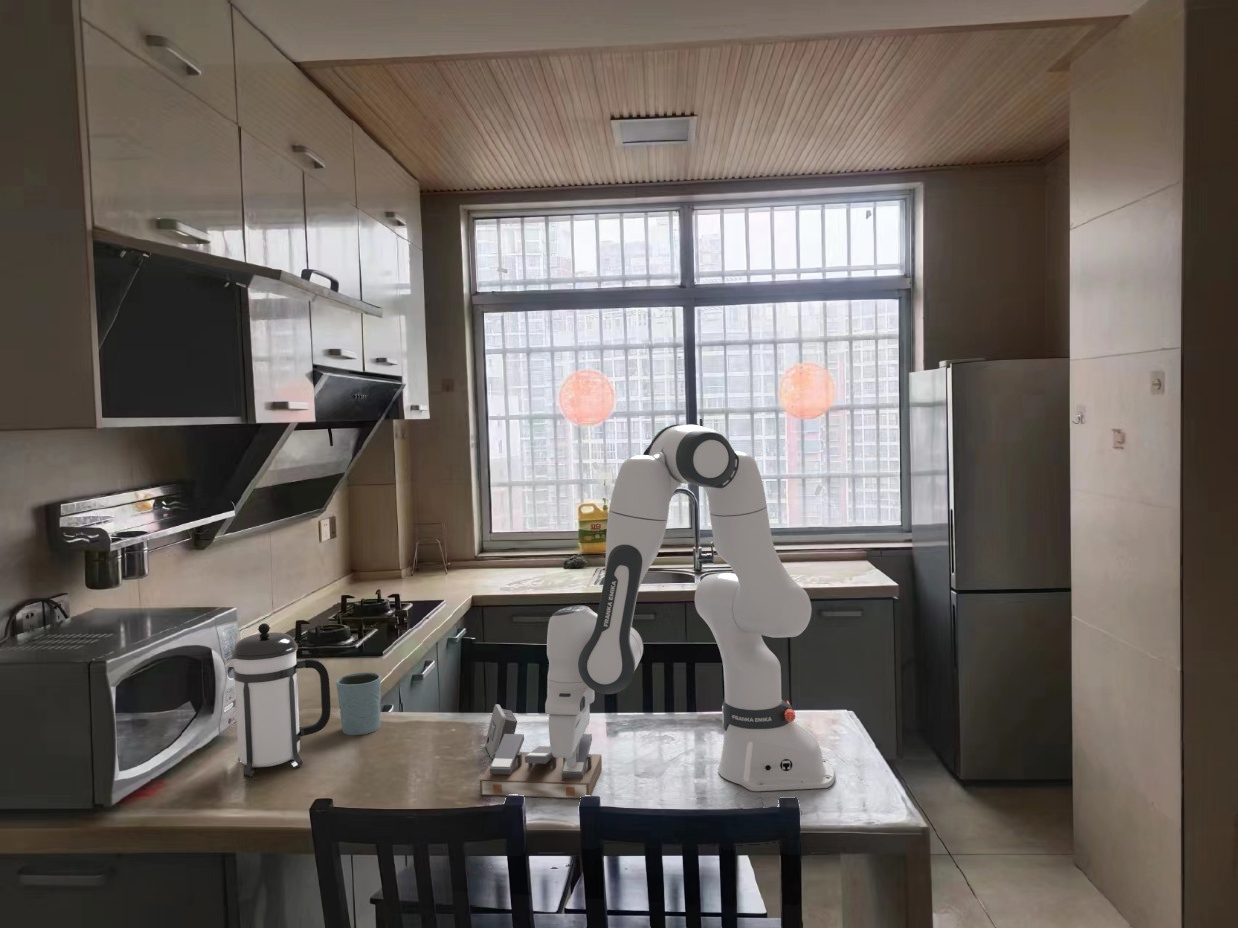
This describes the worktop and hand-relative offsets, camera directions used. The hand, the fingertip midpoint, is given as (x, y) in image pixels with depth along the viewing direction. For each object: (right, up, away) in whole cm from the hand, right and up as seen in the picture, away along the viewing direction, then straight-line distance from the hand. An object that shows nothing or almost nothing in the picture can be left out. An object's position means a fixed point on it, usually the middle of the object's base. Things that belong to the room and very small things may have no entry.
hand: (572, 763), depth 163 cm
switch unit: (-6, -5, +5) cm, 9 cm away
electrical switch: (-17, -5, +22) cm, 28 cm away
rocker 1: (-13, 0, +6) cm, 14 cm away
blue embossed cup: (-52, -5, +38) cm, 64 cm away
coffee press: (-64, -6, +19) cm, 67 cm away
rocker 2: (+1, 0, +4) cm, 4 cm away
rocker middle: (-6, 0, +5) cm, 8 cm away
